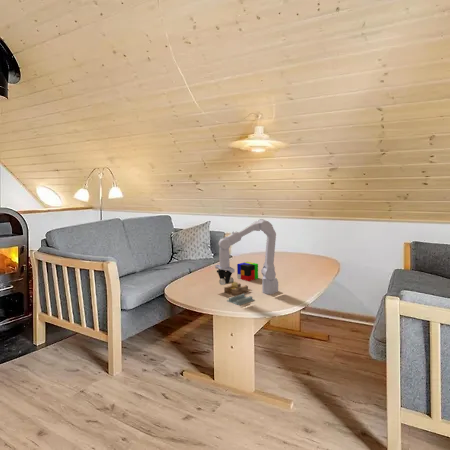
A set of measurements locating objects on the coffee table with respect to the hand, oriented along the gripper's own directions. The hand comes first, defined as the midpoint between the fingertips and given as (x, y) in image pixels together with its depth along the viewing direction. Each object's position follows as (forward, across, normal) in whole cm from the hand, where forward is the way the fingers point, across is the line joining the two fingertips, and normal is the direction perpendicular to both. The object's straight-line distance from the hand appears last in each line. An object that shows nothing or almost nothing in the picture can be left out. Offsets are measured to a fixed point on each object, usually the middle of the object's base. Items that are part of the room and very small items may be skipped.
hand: (224, 282), depth 213 cm
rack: (+8, +13, 0) cm, 15 cm away
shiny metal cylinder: (+1, 0, +1) cm, 2 cm away
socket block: (+8, 0, +8) cm, 12 cm away
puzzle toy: (+9, -18, +37) cm, 42 cm away
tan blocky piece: (+7, 0, +7) cm, 10 cm away
